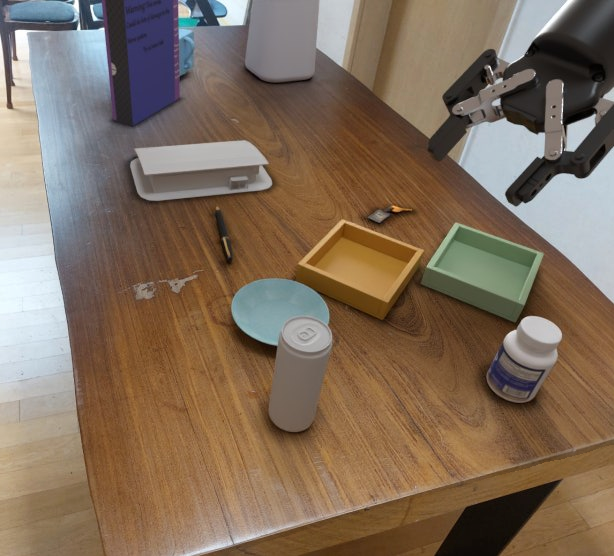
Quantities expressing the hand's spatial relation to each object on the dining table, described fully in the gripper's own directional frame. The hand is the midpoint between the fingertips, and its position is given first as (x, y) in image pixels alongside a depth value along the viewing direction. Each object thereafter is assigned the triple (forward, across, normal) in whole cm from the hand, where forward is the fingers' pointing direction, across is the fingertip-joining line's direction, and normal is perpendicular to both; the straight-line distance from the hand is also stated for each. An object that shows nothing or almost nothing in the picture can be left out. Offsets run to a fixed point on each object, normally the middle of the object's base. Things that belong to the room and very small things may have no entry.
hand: (469, 177), depth 47 cm
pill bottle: (+11, +8, +23) cm, 27 cm away
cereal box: (+15, -79, +20) cm, 82 cm away
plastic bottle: (-13, -87, +47) cm, 100 cm away
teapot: (+7, -96, +28) cm, 100 cm away
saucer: (+23, -12, +11) cm, 29 cm away
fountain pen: (+21, -31, +13) cm, 40 cm away
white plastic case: (+17, -50, +17) cm, 55 cm away
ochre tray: (+12, -15, +22) cm, 29 cm away
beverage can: (+28, 0, +6) cm, 29 cm away
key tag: (+2, -24, +32) cm, 40 cm away
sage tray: (+2, -6, +32) cm, 33 cm away
